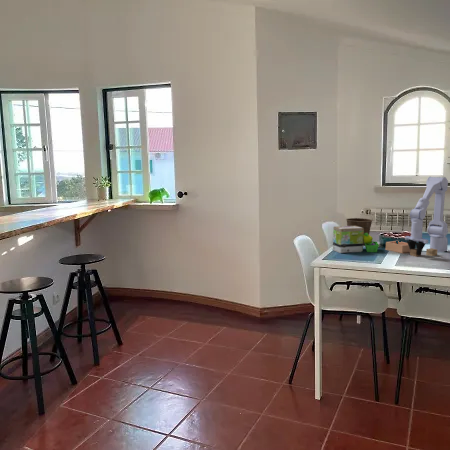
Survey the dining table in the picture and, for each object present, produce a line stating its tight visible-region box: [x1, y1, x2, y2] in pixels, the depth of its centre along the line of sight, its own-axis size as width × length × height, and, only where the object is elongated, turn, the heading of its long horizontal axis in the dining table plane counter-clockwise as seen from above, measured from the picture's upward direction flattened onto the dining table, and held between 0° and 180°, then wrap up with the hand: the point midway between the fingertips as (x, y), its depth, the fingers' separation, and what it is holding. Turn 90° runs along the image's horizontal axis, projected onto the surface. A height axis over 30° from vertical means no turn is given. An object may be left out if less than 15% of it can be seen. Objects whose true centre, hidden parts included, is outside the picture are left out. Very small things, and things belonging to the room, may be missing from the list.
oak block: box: [425, 247, 438, 257], centre depth 261 cm, size 4×4×4 cm
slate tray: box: [383, 248, 410, 256], centre depth 273 cm, size 12×17×1 cm
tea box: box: [332, 225, 364, 254], centre depth 277 cm, size 15×10×15 cm, turn 105°
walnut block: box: [409, 248, 422, 258], centre depth 260 cm, size 4×4×4 cm
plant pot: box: [345, 217, 373, 247], centre depth 297 cm, size 16×16×16 cm
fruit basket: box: [363, 233, 380, 253], centre depth 275 cm, size 11×9×11 cm
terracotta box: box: [385, 240, 410, 255], centre depth 273 cm, size 9×13×5 cm
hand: (415, 254), depth 260 cm, fingers closed on walnut block, 4 cm apart
